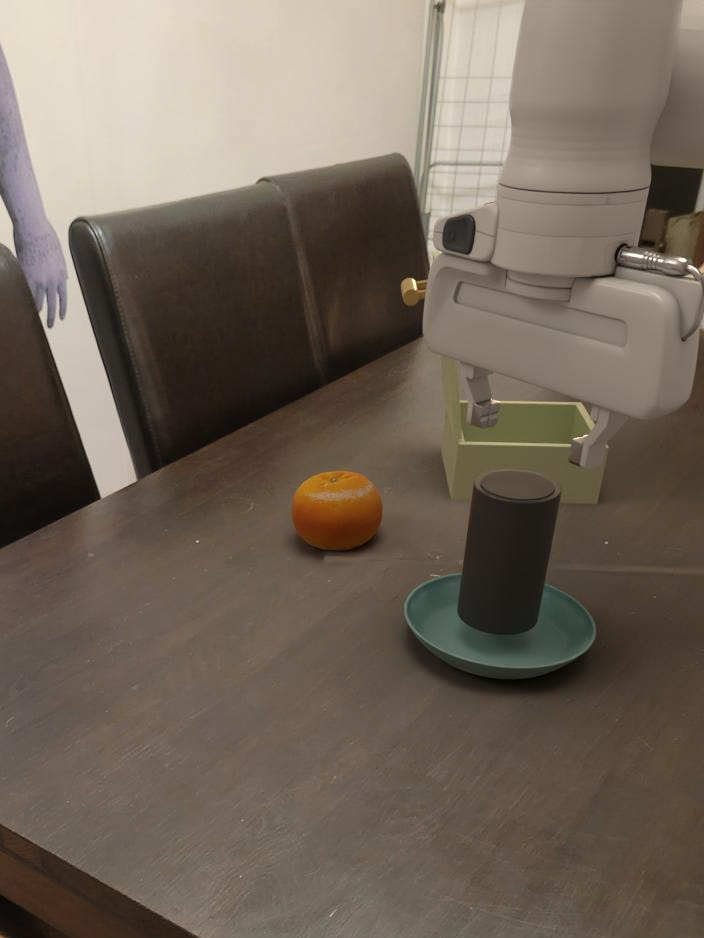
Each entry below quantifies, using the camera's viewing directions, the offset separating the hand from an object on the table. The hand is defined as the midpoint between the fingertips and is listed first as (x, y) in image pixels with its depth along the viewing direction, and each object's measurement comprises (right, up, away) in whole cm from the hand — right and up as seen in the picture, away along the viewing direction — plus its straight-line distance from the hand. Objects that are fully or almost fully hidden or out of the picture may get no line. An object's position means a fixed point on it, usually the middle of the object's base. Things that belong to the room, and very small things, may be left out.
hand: (530, 444), depth 67 cm
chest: (+10, +3, +36) cm, 38 cm away
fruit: (-11, -5, +25) cm, 28 cm away
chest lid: (+1, +16, +29) cm, 34 cm away
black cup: (0, -12, +8) cm, 14 cm away
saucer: (0, -14, +10) cm, 17 cm away
